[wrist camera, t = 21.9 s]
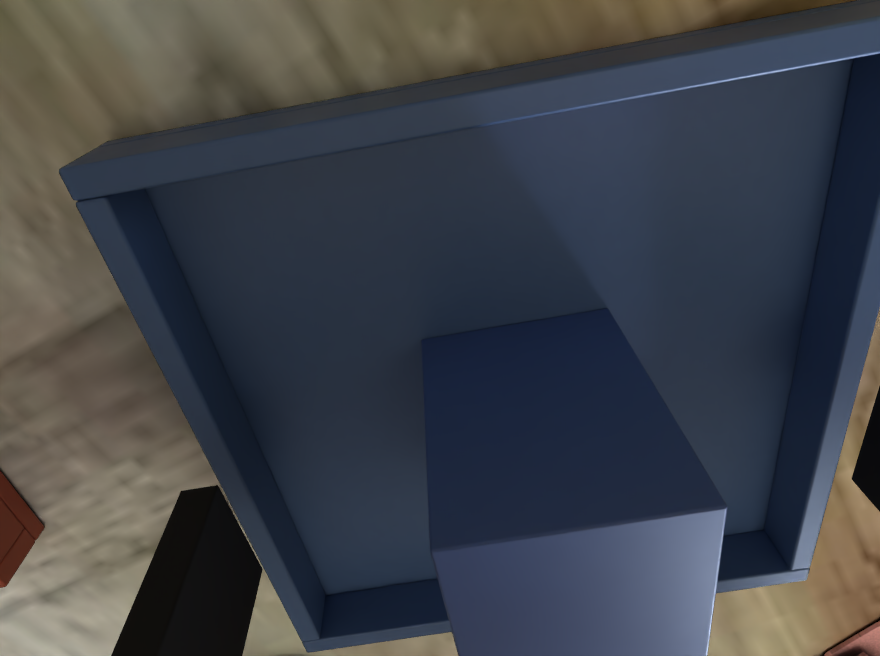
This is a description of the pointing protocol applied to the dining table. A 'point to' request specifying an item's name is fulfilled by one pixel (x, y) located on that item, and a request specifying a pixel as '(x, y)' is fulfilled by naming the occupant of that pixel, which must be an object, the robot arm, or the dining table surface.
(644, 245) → the blue tray
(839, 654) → the cloth
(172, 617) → the robot arm
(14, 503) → the red tray
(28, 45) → the dining table surface
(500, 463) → the blue block
